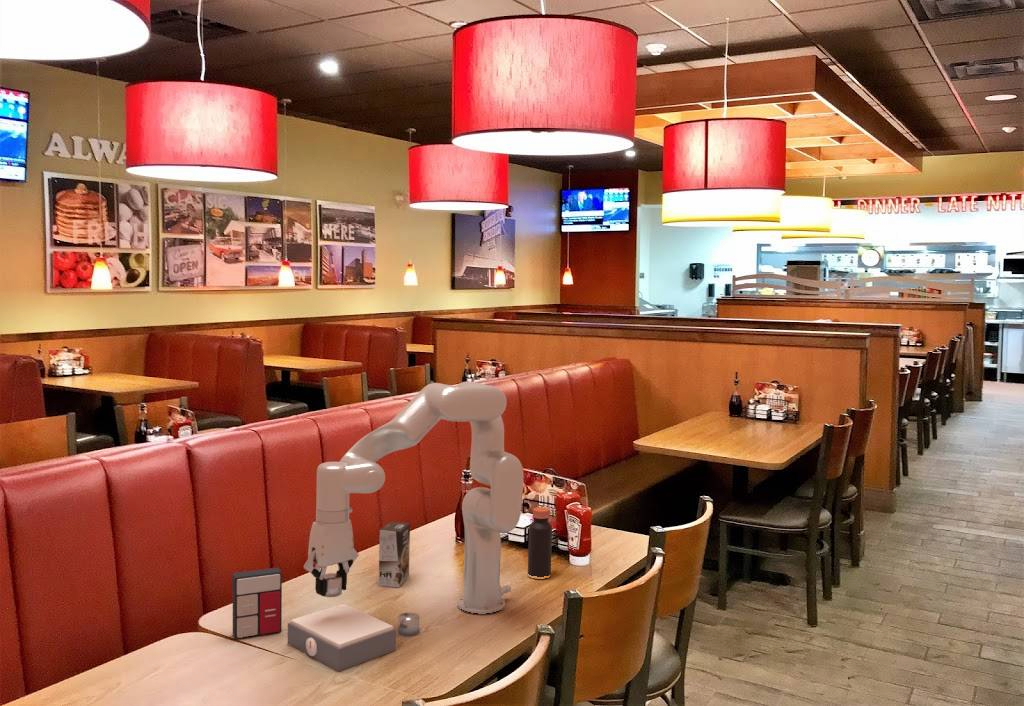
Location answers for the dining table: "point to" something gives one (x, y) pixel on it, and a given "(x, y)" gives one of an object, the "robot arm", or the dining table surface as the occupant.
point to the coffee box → (394, 554)
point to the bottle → (540, 543)
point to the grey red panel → (257, 602)
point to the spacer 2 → (408, 624)
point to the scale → (341, 636)
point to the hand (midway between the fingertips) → (331, 590)
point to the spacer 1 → (333, 585)
